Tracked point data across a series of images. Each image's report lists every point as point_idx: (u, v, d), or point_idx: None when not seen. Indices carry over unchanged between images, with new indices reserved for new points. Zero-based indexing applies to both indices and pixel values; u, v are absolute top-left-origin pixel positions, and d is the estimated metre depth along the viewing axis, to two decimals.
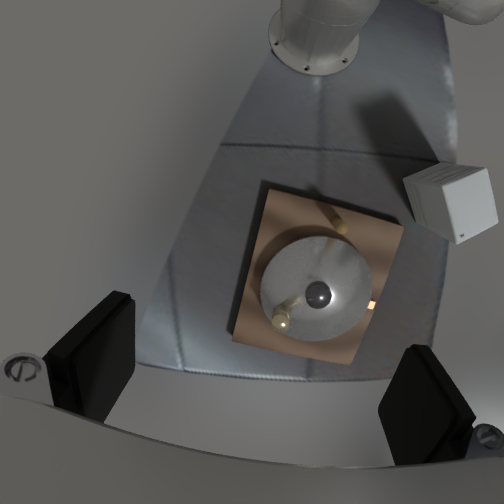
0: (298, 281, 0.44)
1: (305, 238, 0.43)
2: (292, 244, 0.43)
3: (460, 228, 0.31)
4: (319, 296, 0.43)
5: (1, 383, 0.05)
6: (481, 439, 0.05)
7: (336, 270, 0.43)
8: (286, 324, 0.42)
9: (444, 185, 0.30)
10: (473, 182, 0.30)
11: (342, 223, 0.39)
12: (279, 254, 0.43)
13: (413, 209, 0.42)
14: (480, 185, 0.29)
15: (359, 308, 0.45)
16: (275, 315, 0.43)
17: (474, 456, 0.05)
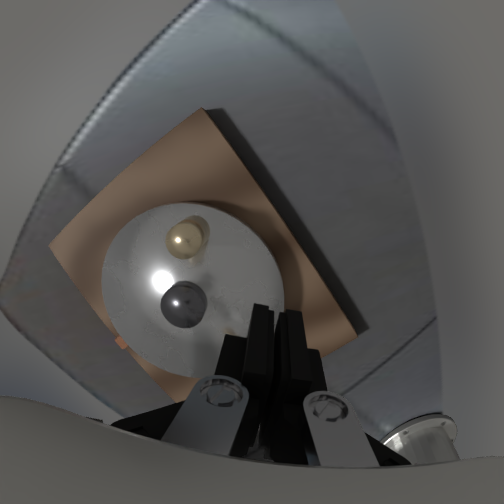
0: (222, 291, 0.26)
1: None
2: None
3: None
4: (182, 309, 0.25)
5: (210, 412, 0.06)
6: (318, 413, 0.06)
7: (200, 343, 0.27)
8: (175, 251, 0.21)
9: None
10: None
11: None
12: (281, 299, 0.26)
13: None
14: None
15: (125, 327, 0.28)
16: (202, 239, 0.22)
17: (324, 439, 0.05)
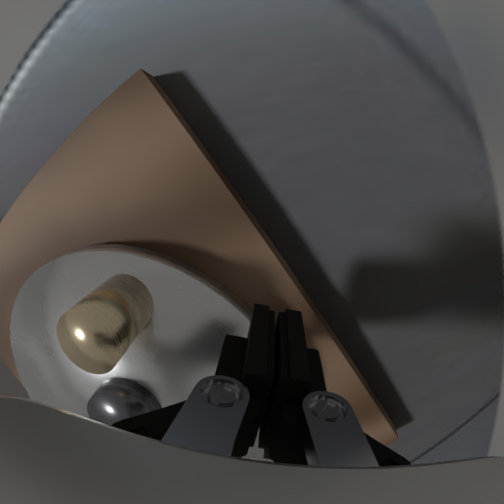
0: (185, 399, 0.14)
1: (270, 459, 0.15)
2: None
3: None
4: None
5: (211, 413, 0.06)
6: (318, 413, 0.06)
7: None
8: (77, 357, 0.09)
9: None
10: None
11: None
12: None
13: None
14: None
15: None
16: (127, 337, 0.10)
17: (324, 439, 0.05)
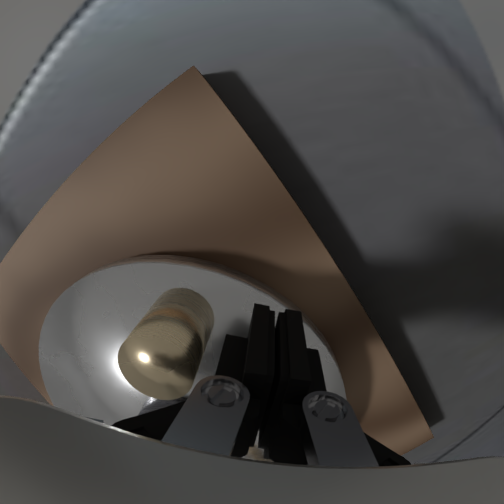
0: None
1: None
2: None
3: None
4: None
5: (211, 412, 0.06)
6: (318, 413, 0.06)
7: None
8: (141, 383, 0.09)
9: None
10: None
11: None
12: None
13: None
14: None
15: None
16: (199, 358, 0.09)
17: (323, 439, 0.05)
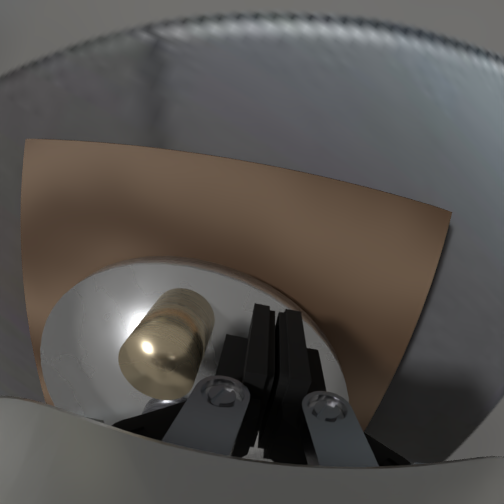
0: None
1: None
2: None
3: None
4: None
5: (211, 413, 0.06)
6: (317, 413, 0.06)
7: None
8: (142, 384, 0.09)
9: None
10: None
11: None
12: None
13: None
14: None
15: None
16: (200, 358, 0.09)
17: (323, 439, 0.05)
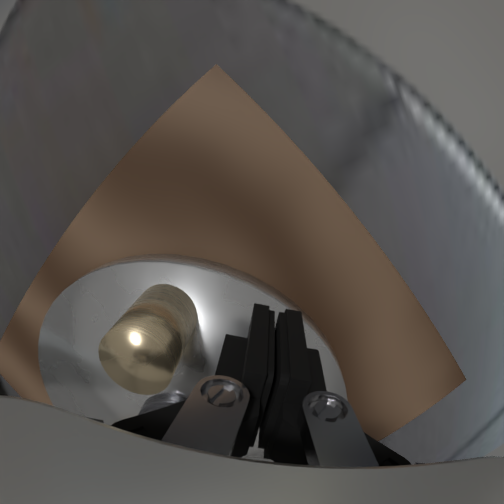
0: None
1: None
2: None
3: None
4: None
5: (211, 413, 0.06)
6: (318, 413, 0.06)
7: None
8: (124, 379, 0.09)
9: None
10: None
11: None
12: None
13: None
14: None
15: None
16: (178, 350, 0.09)
17: (324, 439, 0.05)
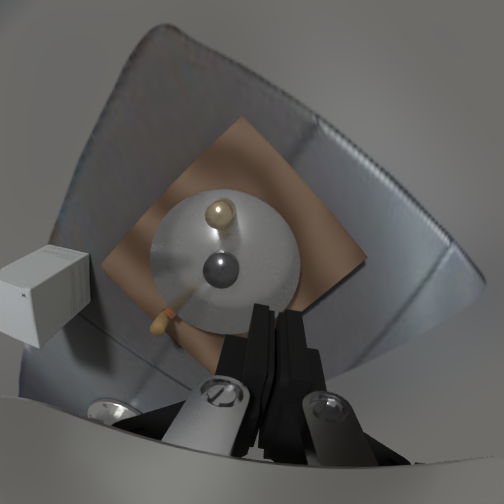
0: (250, 255, 0.33)
1: None
2: (298, 275, 0.33)
3: (24, 303, 0.26)
4: (220, 273, 0.32)
5: (211, 412, 0.06)
6: (318, 413, 0.06)
7: (236, 301, 0.35)
8: (213, 223, 0.29)
9: None
10: (10, 330, 0.28)
11: (154, 333, 0.34)
12: (297, 255, 0.33)
13: (86, 273, 0.38)
14: (4, 322, 0.27)
15: (173, 298, 0.35)
16: (232, 213, 0.29)
17: (324, 439, 0.05)
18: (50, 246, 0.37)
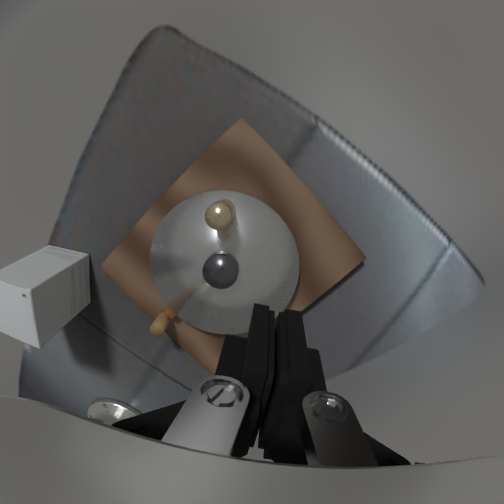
0: (250, 255, 0.33)
1: (293, 291, 0.34)
2: (297, 276, 0.34)
3: (25, 303, 0.27)
4: (220, 273, 0.33)
5: (211, 412, 0.06)
6: (318, 413, 0.06)
7: (236, 302, 0.35)
8: (212, 224, 0.29)
9: (38, 348, 0.28)
10: (10, 330, 0.28)
11: (154, 334, 0.34)
12: (296, 256, 0.33)
13: (86, 273, 0.38)
14: (4, 322, 0.28)
15: (173, 299, 0.35)
16: (232, 213, 0.30)
17: (324, 439, 0.05)
18: (50, 246, 0.37)
